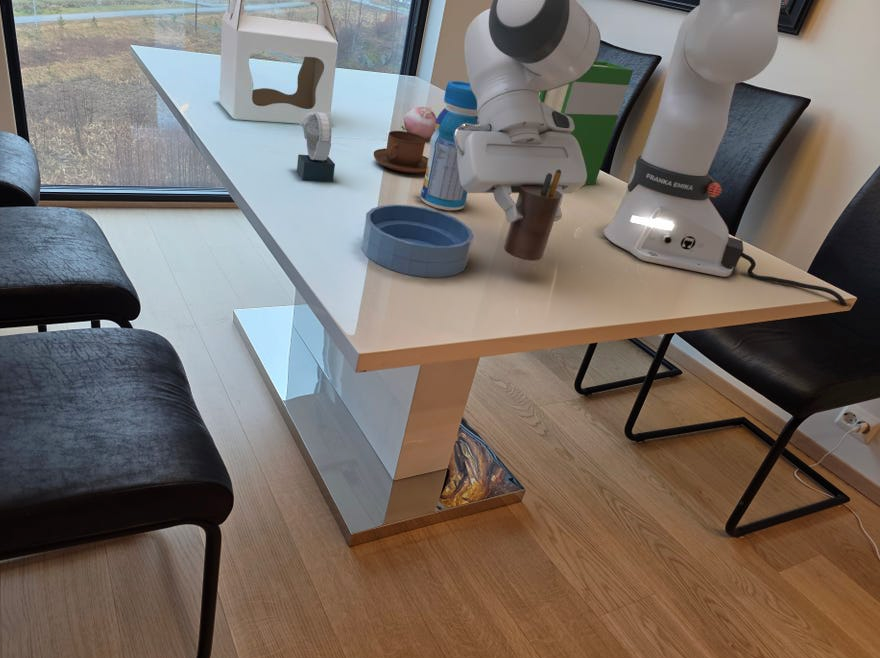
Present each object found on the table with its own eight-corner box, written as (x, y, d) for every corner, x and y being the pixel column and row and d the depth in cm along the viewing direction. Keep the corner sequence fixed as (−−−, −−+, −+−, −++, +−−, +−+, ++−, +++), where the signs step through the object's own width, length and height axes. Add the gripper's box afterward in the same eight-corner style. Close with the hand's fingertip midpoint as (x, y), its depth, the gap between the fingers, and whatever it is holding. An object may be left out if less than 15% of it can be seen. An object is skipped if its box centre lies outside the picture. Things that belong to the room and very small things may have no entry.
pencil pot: (544, 251, 96) (571, 166, 90) (540, 264, 91) (568, 176, 85) (506, 240, 97) (530, 156, 90) (500, 253, 92) (525, 165, 86)
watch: (323, 169, 123) (330, 108, 117) (335, 185, 117) (343, 121, 111) (293, 168, 121) (299, 105, 115) (304, 183, 115) (311, 118, 109)
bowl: (473, 253, 101) (481, 222, 99) (452, 292, 88) (461, 257, 86) (379, 227, 103) (384, 196, 101) (345, 261, 91) (350, 227, 88)
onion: (409, 141, 152) (414, 109, 148) (395, 131, 158) (400, 100, 154) (439, 143, 155) (446, 111, 152) (425, 133, 161) (431, 102, 157)
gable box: (311, 110, 161) (324, -22, 146) (330, 126, 151) (346, -13, 137) (218, 103, 151) (222, -39, 136) (232, 119, 141) (238, -31, 127)
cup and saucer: (426, 182, 128) (433, 150, 125) (366, 168, 128) (371, 136, 125) (434, 166, 138) (440, 136, 135) (378, 154, 139) (383, 123, 135)
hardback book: (542, 187, 139) (578, 64, 126) (517, 175, 144) (550, 56, 131) (595, 183, 149) (633, 70, 136) (570, 172, 154) (605, 61, 141)
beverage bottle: (436, 213, 114) (462, 90, 103) (410, 195, 119) (432, 77, 109) (474, 211, 118) (503, 93, 108) (447, 193, 124) (472, 80, 113)
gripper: (464, 110, 85) (488, 212, 83) (581, 119, 95) (605, 210, 93) (439, 134, 90) (461, 231, 89) (552, 140, 100) (574, 227, 99)
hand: (536, 220), depth 91 cm, fingers closed on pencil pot, 5 cm apart
